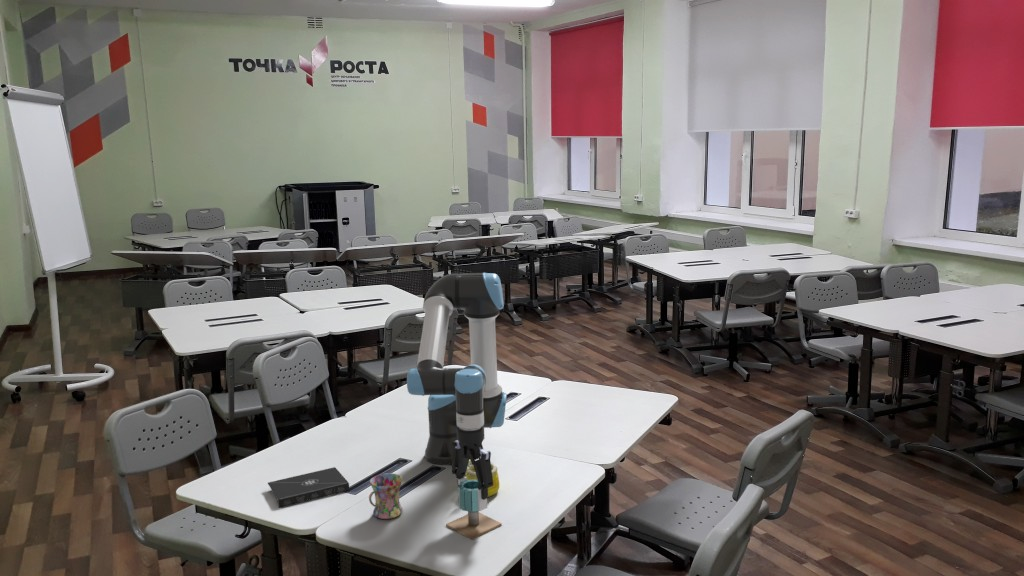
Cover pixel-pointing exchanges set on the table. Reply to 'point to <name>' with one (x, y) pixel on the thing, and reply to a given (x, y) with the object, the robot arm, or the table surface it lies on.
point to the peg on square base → (473, 524)
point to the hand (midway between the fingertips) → (473, 504)
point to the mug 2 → (472, 475)
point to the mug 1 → (386, 495)
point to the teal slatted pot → (468, 495)
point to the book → (308, 486)
